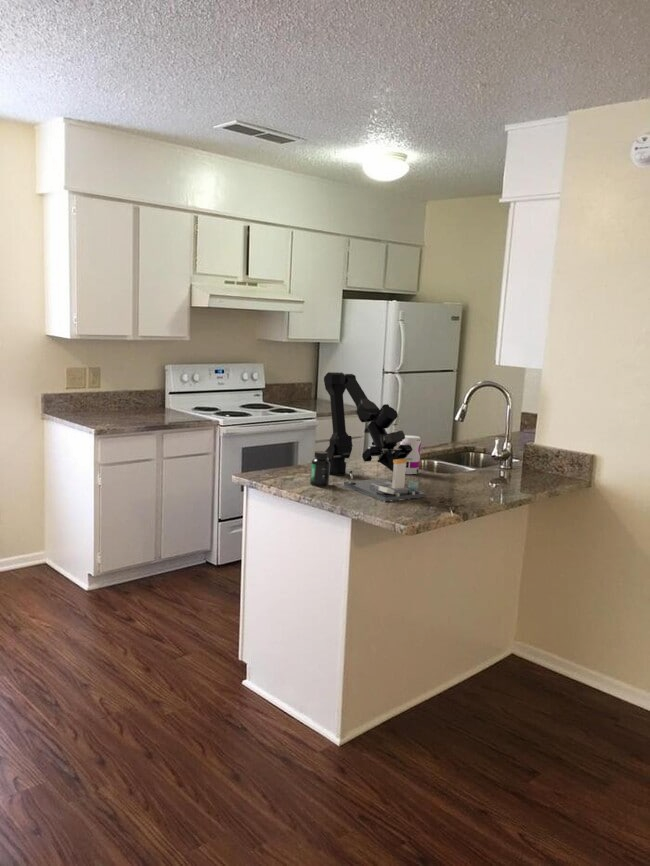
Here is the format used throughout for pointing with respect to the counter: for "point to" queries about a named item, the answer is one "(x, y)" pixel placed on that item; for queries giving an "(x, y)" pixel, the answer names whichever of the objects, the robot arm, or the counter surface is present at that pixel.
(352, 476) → the toggle lever
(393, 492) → the rocker switch
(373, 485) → the console
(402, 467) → the slide paddle
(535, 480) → the counter surface
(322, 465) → the supplement bottle
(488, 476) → the counter surface
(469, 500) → the counter surface
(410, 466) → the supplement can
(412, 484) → the push button
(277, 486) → the counter surface
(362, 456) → the robot arm
